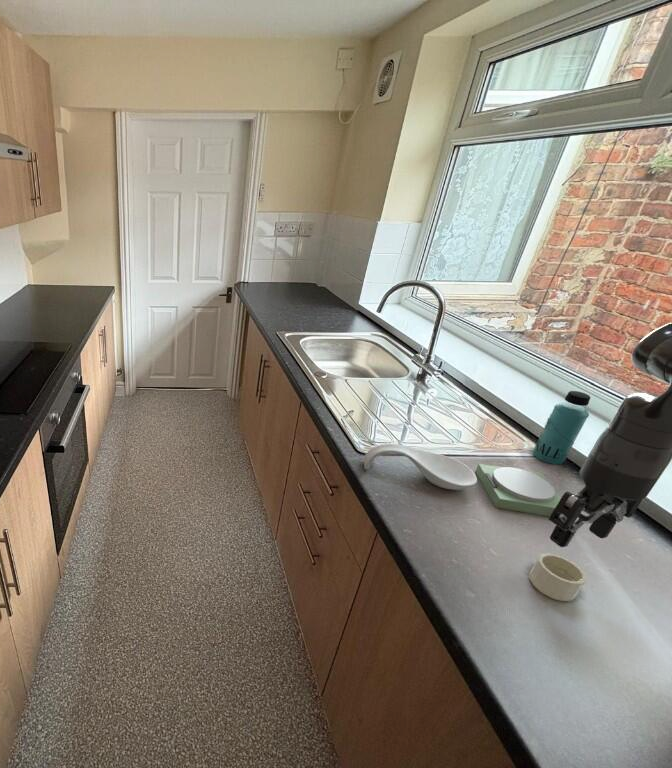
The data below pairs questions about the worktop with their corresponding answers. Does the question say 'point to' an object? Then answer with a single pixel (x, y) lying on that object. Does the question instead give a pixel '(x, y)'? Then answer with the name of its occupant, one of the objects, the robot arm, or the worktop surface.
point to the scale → (518, 489)
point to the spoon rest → (429, 466)
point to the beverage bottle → (562, 428)
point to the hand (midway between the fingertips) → (577, 538)
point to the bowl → (557, 577)
